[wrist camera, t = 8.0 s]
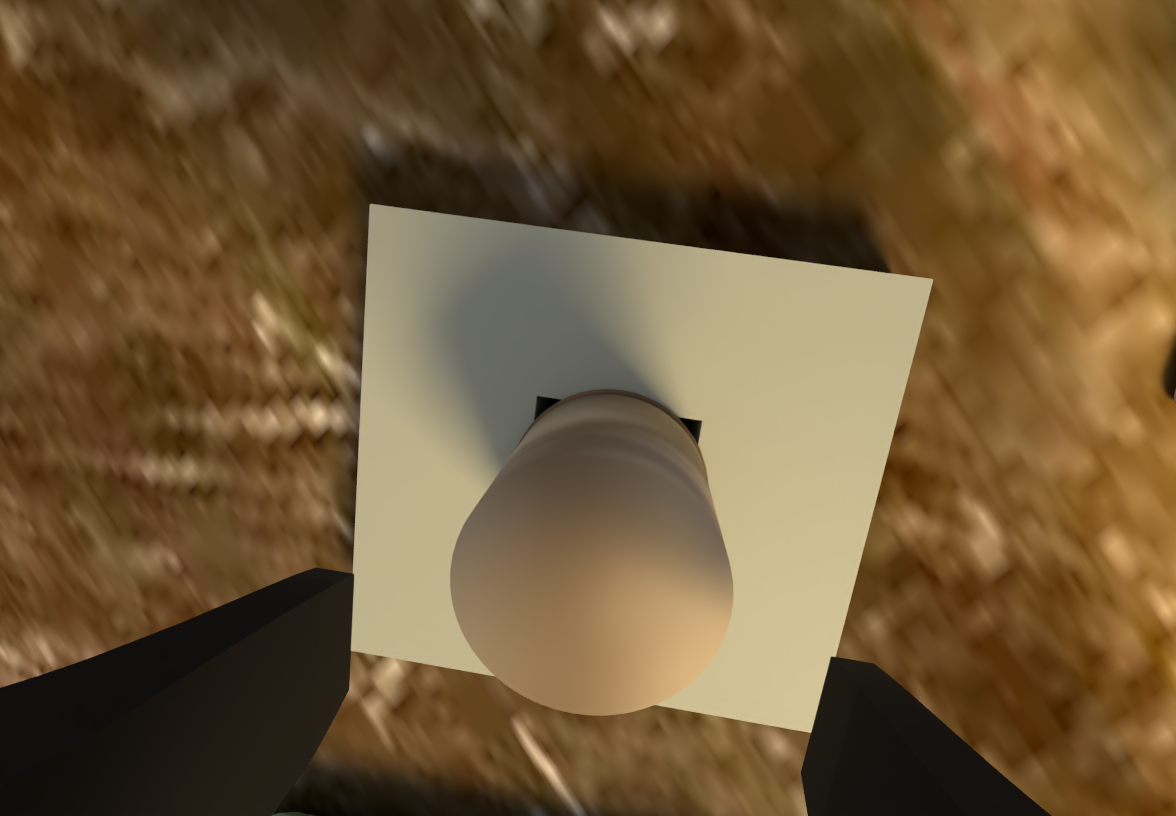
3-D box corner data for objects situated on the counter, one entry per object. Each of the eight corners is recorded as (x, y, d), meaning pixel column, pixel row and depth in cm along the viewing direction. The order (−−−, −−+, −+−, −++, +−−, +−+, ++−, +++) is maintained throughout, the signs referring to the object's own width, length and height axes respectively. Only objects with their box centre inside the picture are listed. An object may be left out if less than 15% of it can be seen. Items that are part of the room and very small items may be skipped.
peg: (713, 386, 18) (761, 477, 11) (685, 550, 20) (710, 738, 12) (536, 362, 19) (457, 434, 11) (519, 525, 20) (438, 693, 12)
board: (893, 276, 17) (933, 279, 15) (795, 677, 21) (815, 733, 18) (406, 211, 18) (369, 203, 16) (383, 606, 21) (349, 649, 19)
